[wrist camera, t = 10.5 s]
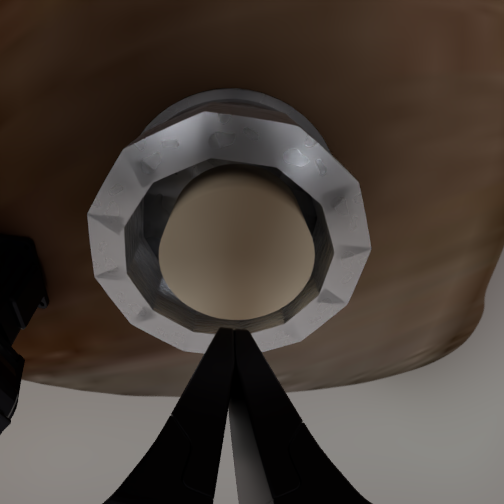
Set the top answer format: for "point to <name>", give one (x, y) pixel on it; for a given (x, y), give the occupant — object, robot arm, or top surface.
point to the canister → (200, 160)
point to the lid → (236, 244)
